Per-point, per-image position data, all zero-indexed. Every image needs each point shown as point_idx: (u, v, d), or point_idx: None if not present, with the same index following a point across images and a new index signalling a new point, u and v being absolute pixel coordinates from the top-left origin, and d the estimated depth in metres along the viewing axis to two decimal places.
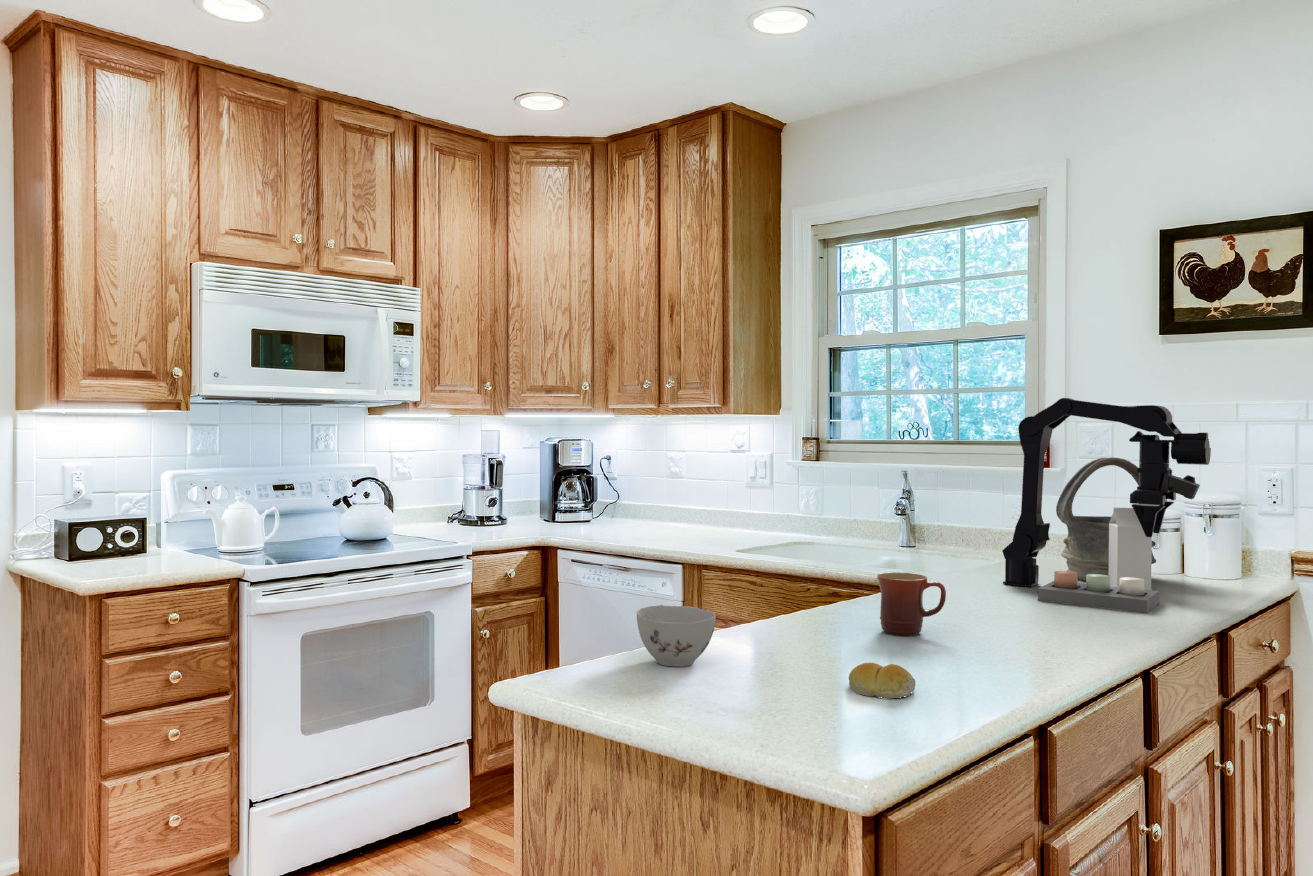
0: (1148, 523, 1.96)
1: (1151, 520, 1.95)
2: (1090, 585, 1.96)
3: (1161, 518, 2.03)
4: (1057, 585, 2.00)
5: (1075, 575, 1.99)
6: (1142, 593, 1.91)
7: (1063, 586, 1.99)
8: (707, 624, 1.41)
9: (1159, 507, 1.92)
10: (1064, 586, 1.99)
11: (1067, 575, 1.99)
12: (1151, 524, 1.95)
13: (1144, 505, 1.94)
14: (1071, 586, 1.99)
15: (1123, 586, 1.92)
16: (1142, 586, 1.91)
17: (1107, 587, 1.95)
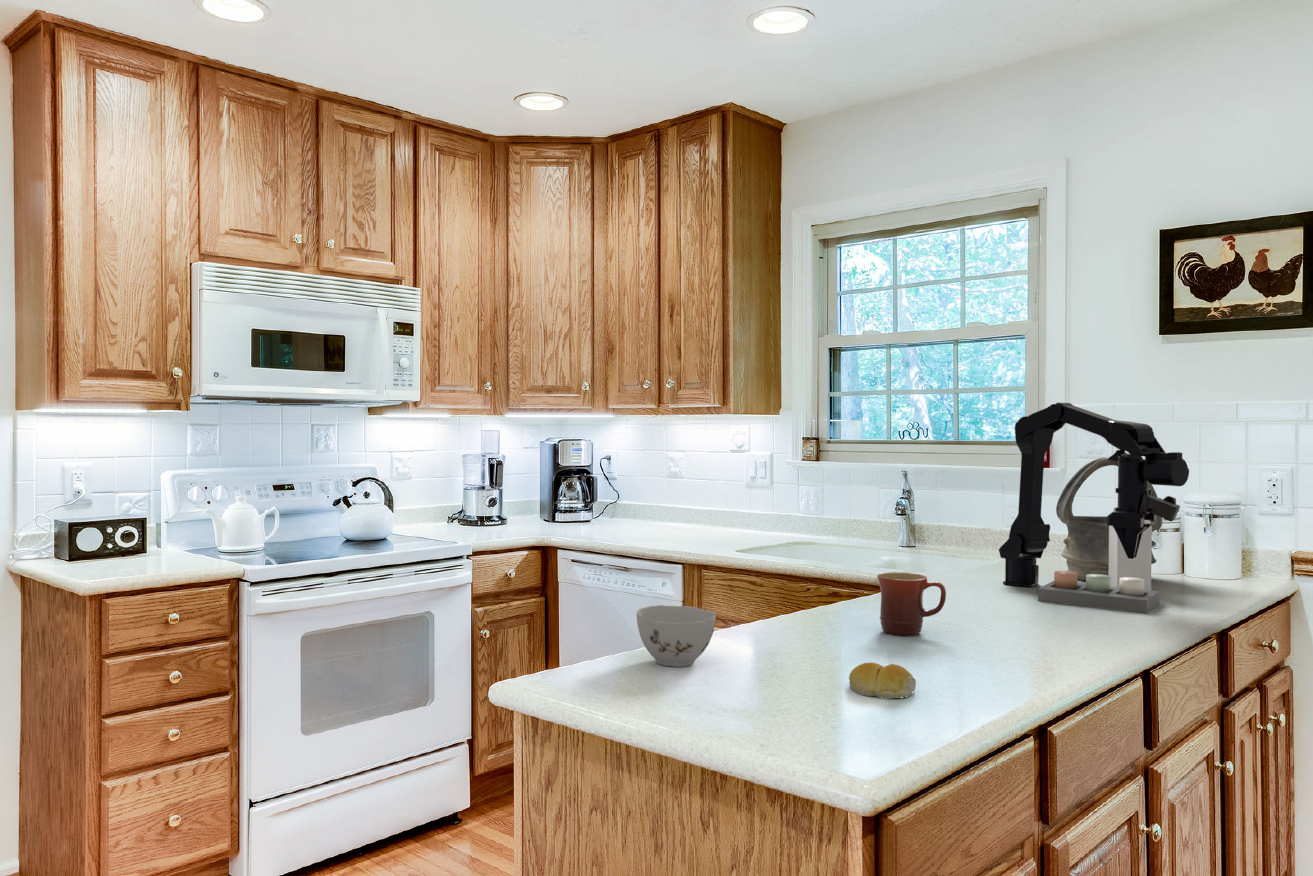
0: (1130, 544, 1.91)
1: (1133, 541, 1.91)
2: (1090, 585, 1.96)
3: (1138, 541, 1.93)
4: (1057, 585, 2.00)
5: (1075, 575, 1.99)
6: (1142, 593, 1.91)
7: (1063, 586, 1.99)
8: (707, 625, 1.41)
9: (1140, 528, 1.88)
10: (1064, 586, 1.99)
11: (1067, 575, 1.99)
12: (1133, 545, 1.91)
13: None
14: (1071, 586, 1.99)
15: (1123, 586, 1.92)
16: (1142, 586, 1.91)
17: (1107, 587, 1.95)
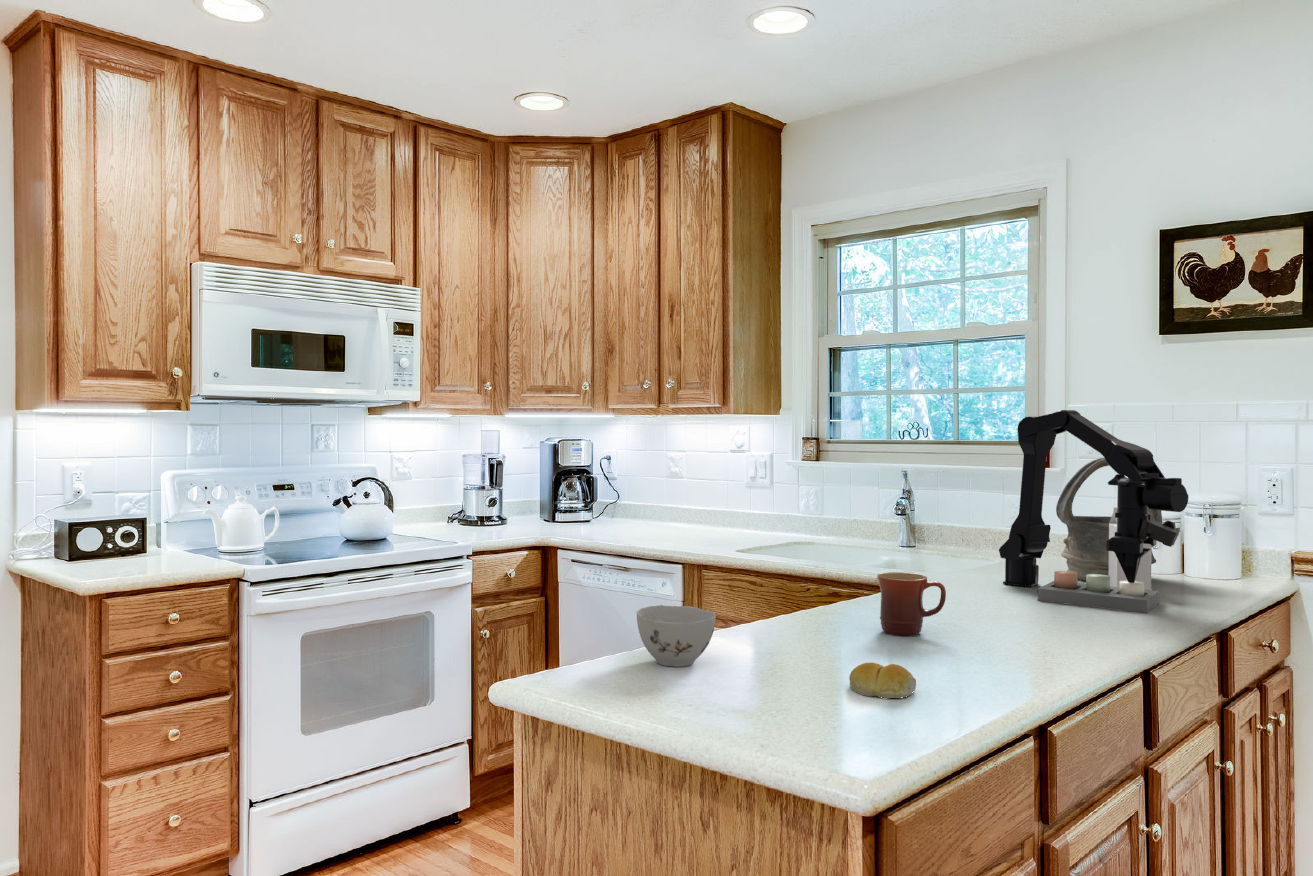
0: (1130, 568, 1.92)
1: (1133, 565, 1.91)
2: (1090, 585, 1.96)
3: (1136, 566, 1.93)
4: (1057, 585, 2.00)
5: (1075, 575, 1.99)
6: (1142, 596, 1.91)
7: (1063, 586, 1.99)
8: (707, 625, 1.41)
9: (1141, 553, 1.89)
10: (1064, 586, 1.99)
11: (1067, 575, 1.99)
12: (1133, 569, 1.92)
13: None
14: (1071, 586, 1.99)
15: (1123, 590, 1.92)
16: (1142, 589, 1.91)
17: (1107, 587, 1.95)
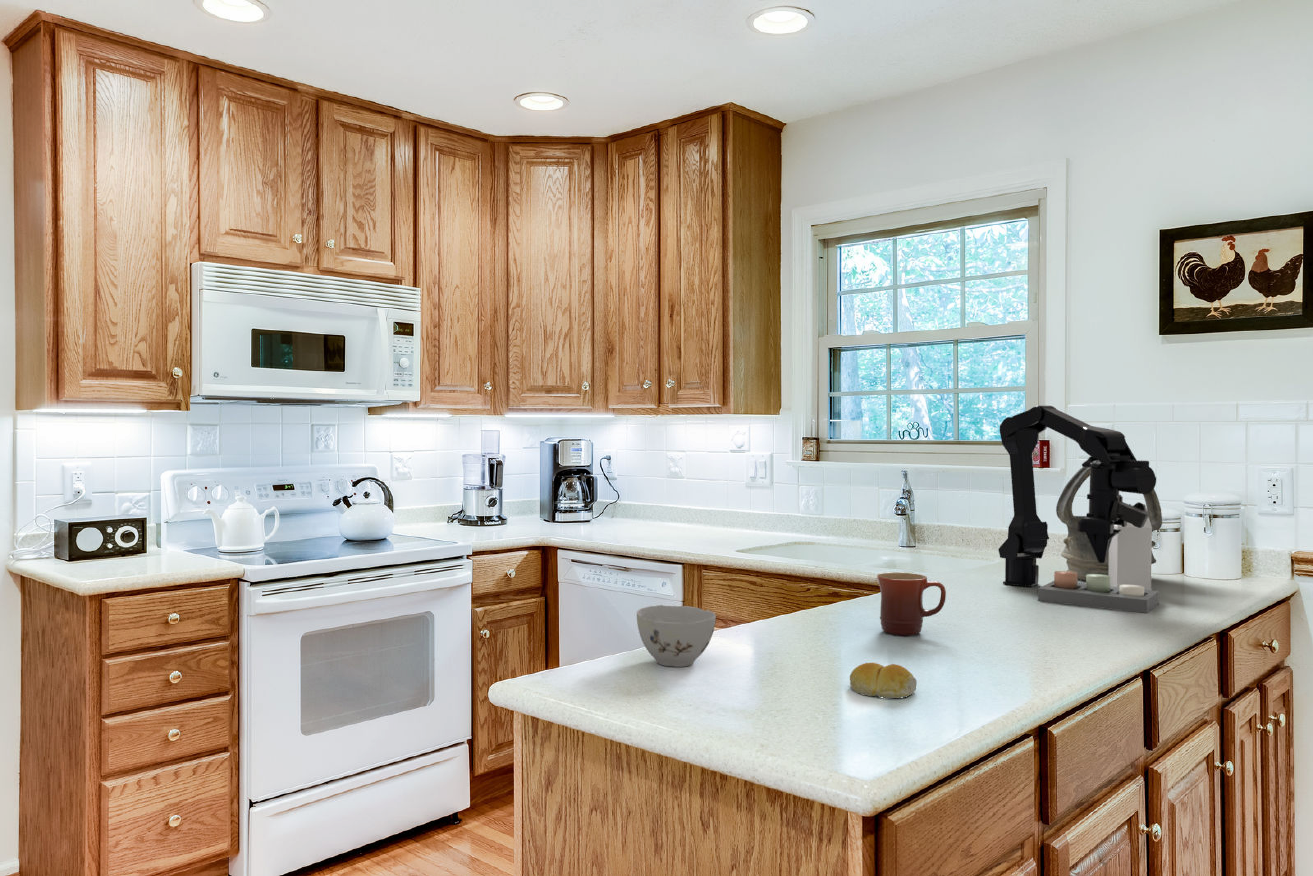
0: (1101, 549, 1.96)
1: (1104, 546, 1.95)
2: (1090, 585, 1.96)
3: None
4: (1057, 585, 2.00)
5: (1075, 575, 1.99)
6: None
7: (1063, 586, 1.99)
8: (707, 625, 1.41)
9: (1111, 534, 1.92)
10: (1064, 586, 1.99)
11: (1067, 575, 1.99)
12: (1104, 550, 1.95)
13: None
14: (1071, 586, 1.99)
15: (1123, 594, 1.92)
16: (1142, 593, 1.91)
17: (1107, 587, 1.95)
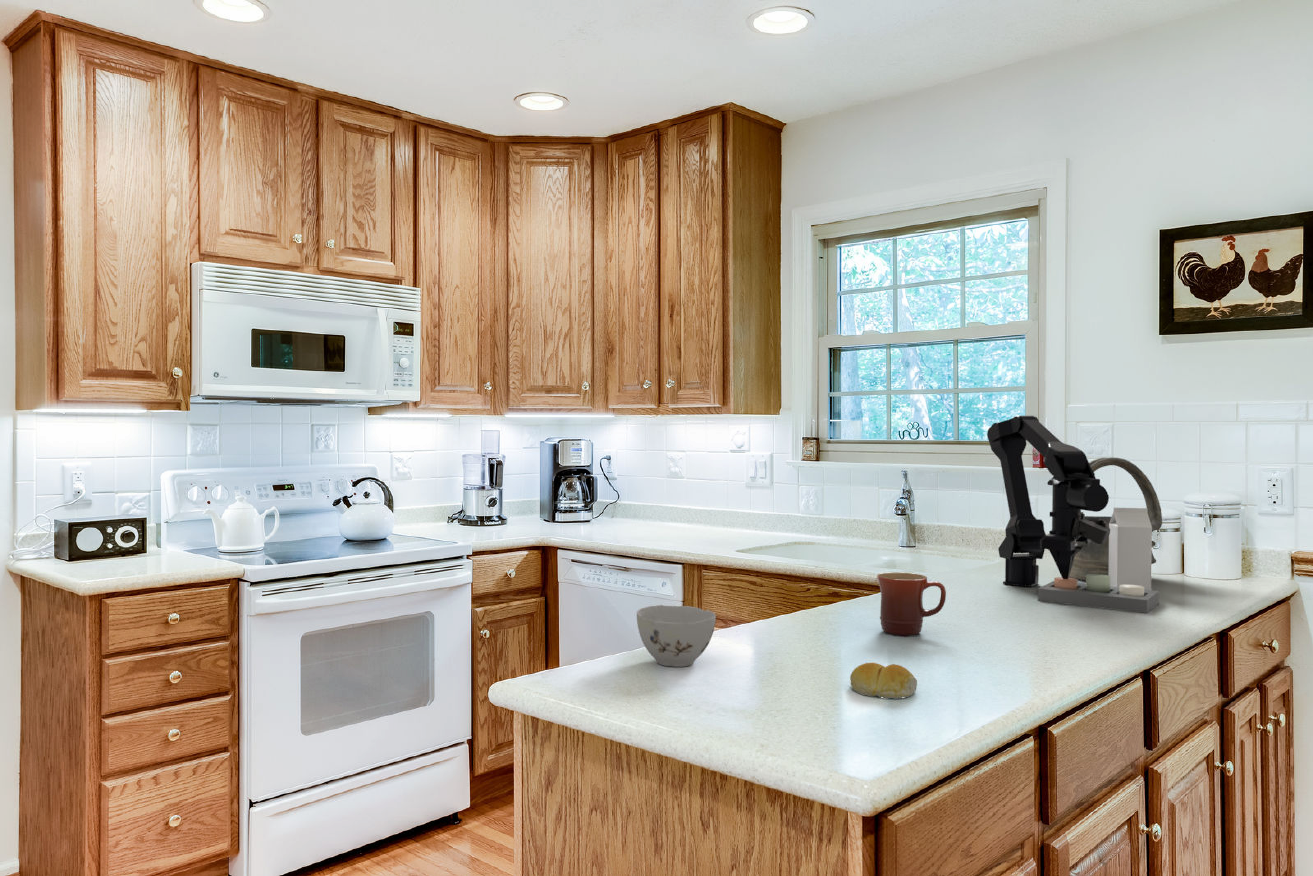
0: (1064, 565, 2.00)
1: (1067, 563, 1.99)
2: (1090, 585, 1.96)
3: None
4: None
5: (1075, 581, 1.99)
6: None
7: None
8: (707, 625, 1.41)
9: (1073, 550, 1.97)
10: None
11: (1067, 581, 1.99)
12: (1067, 566, 2.00)
13: None
14: None
15: (1123, 594, 1.92)
16: (1142, 593, 1.91)
17: (1107, 587, 1.95)
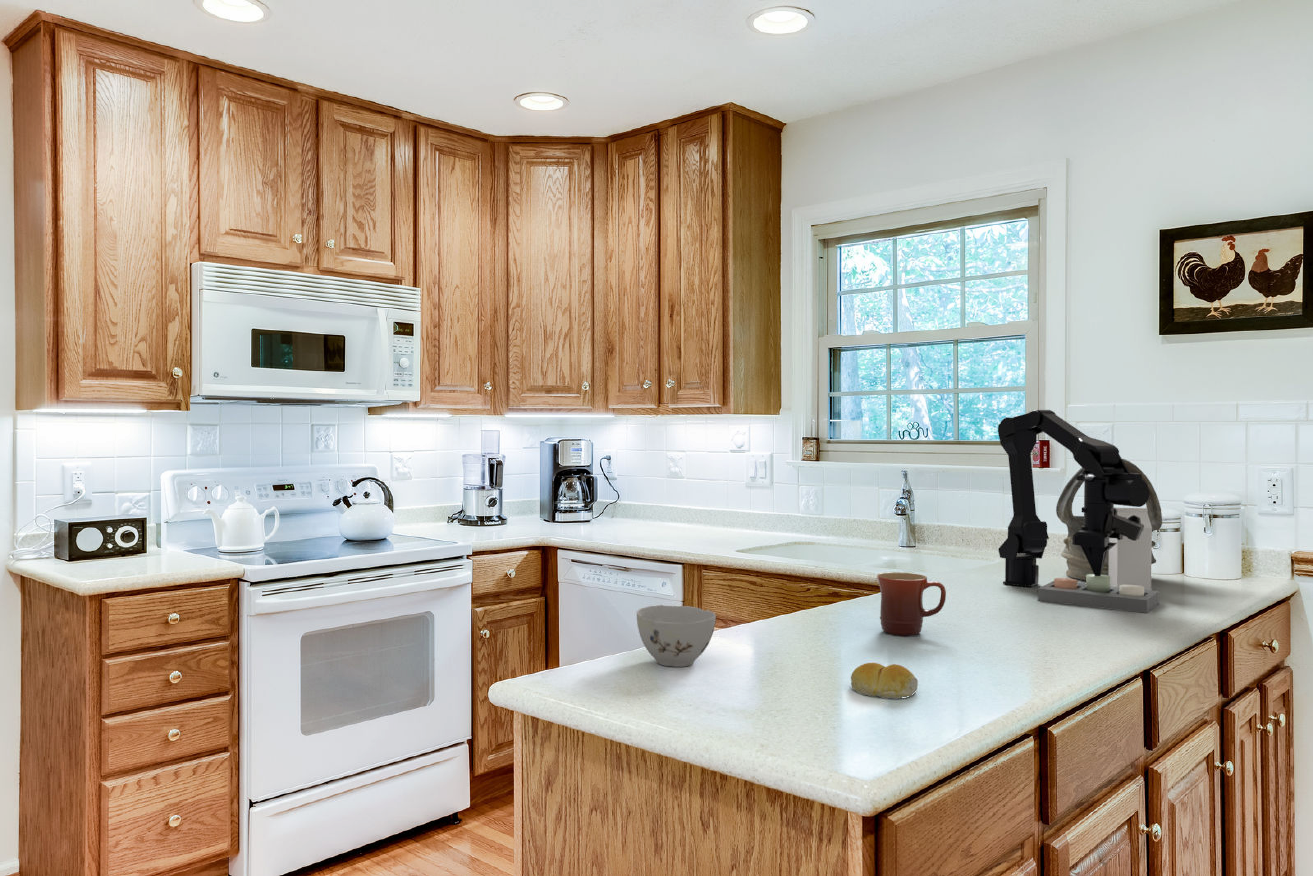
0: (1096, 562, 1.96)
1: (1099, 559, 1.95)
2: (1090, 585, 1.96)
3: (1103, 560, 1.97)
4: None
5: (1075, 582, 1.99)
6: None
7: None
8: (707, 625, 1.41)
9: (1106, 547, 1.93)
10: None
11: (1067, 582, 1.99)
12: (1099, 563, 1.96)
13: None
14: None
15: (1123, 594, 1.92)
16: (1142, 593, 1.91)
17: (1107, 587, 1.95)
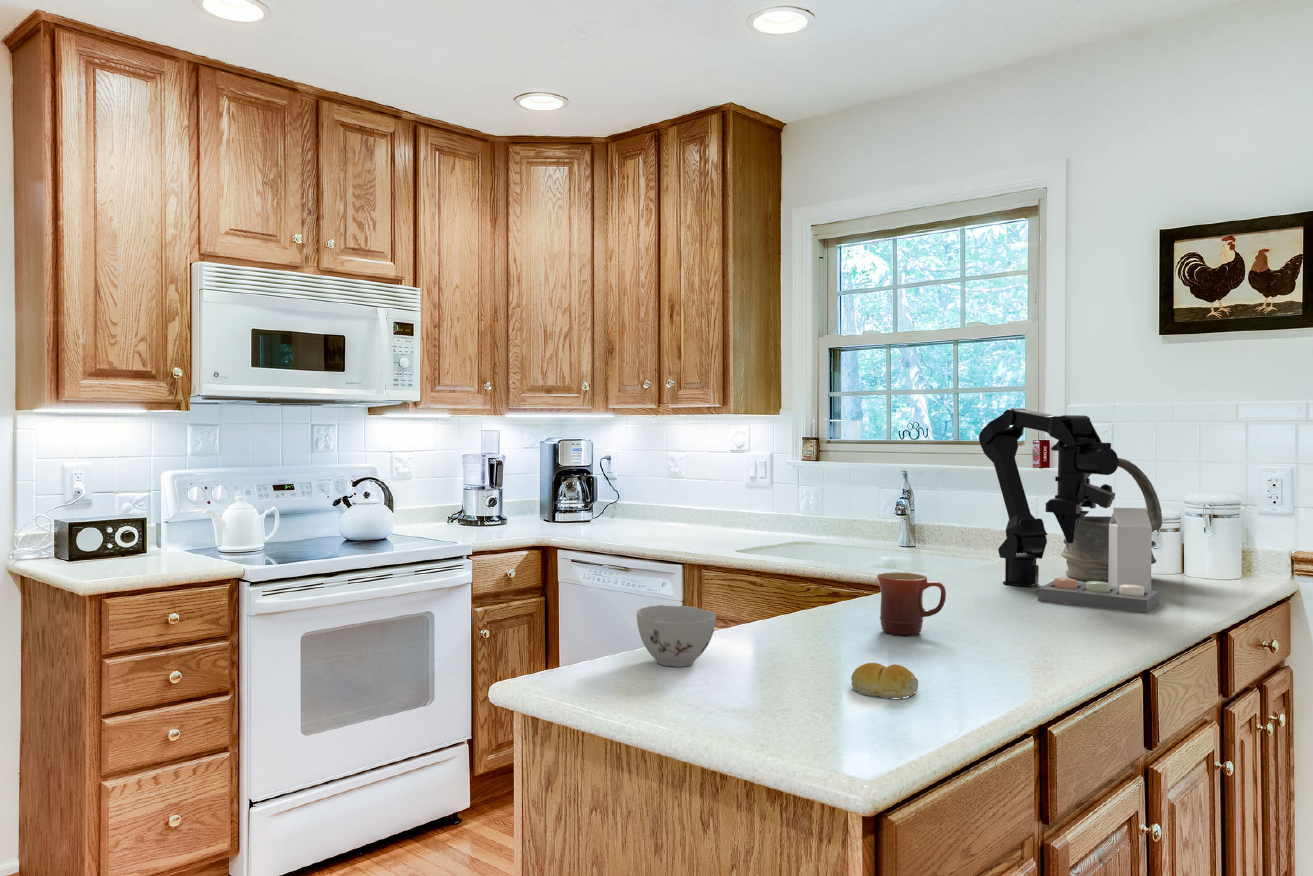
0: (1069, 529, 2.02)
1: (1072, 527, 2.01)
2: None
3: None
4: None
5: (1075, 582, 1.99)
6: None
7: None
8: (707, 625, 1.41)
9: (1078, 514, 1.99)
10: None
11: (1067, 582, 1.99)
12: (1072, 530, 2.02)
13: (1064, 512, 2.00)
14: None
15: (1123, 594, 1.92)
16: (1142, 593, 1.91)
17: None
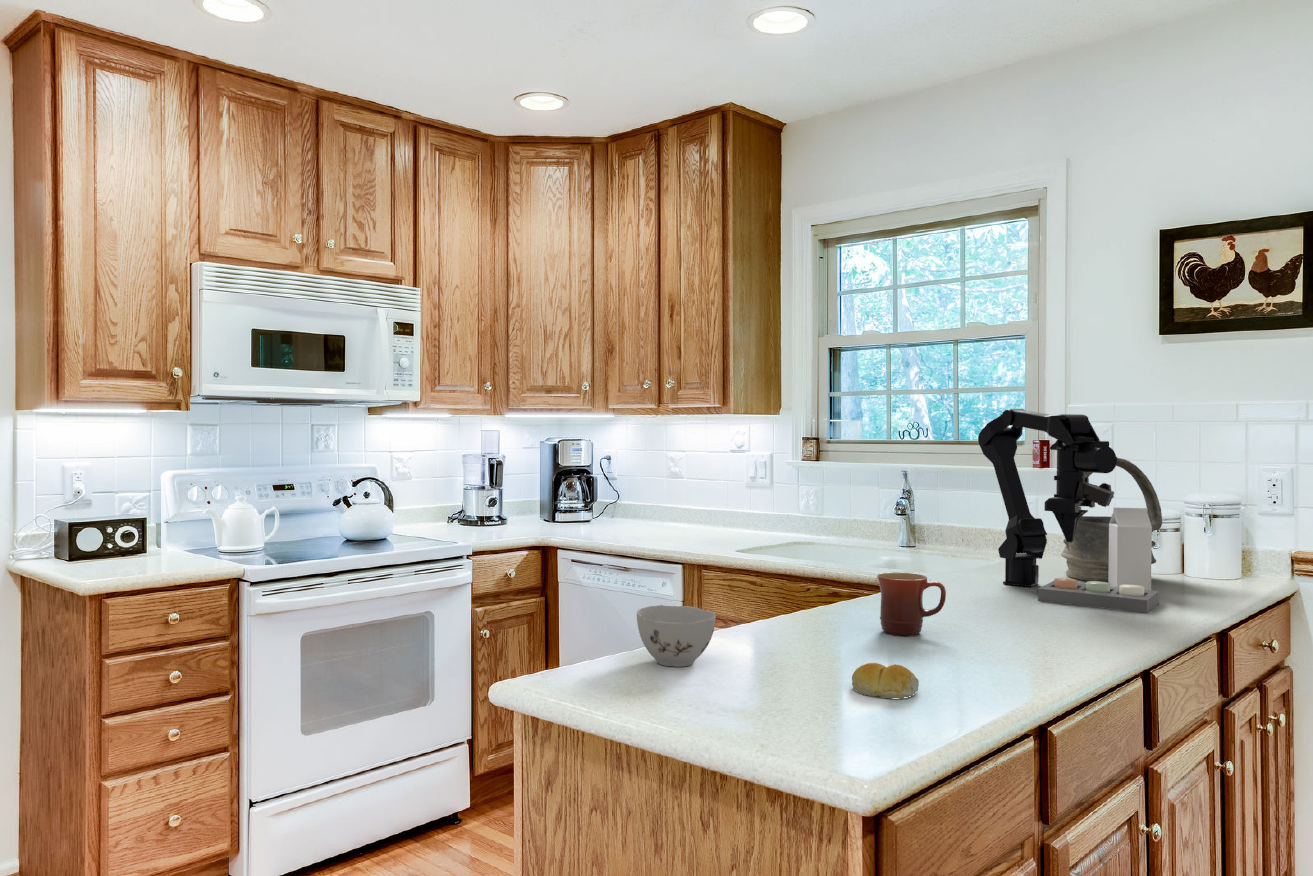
0: (1068, 528, 2.02)
1: (1071, 526, 2.02)
2: None
3: (1074, 527, 2.03)
4: None
5: (1075, 582, 1.99)
6: None
7: None
8: (707, 625, 1.41)
9: (1077, 513, 1.99)
10: None
11: (1067, 582, 1.99)
12: (1071, 529, 2.02)
13: (1063, 511, 2.00)
14: None
15: (1123, 594, 1.92)
16: (1142, 593, 1.91)
17: None
